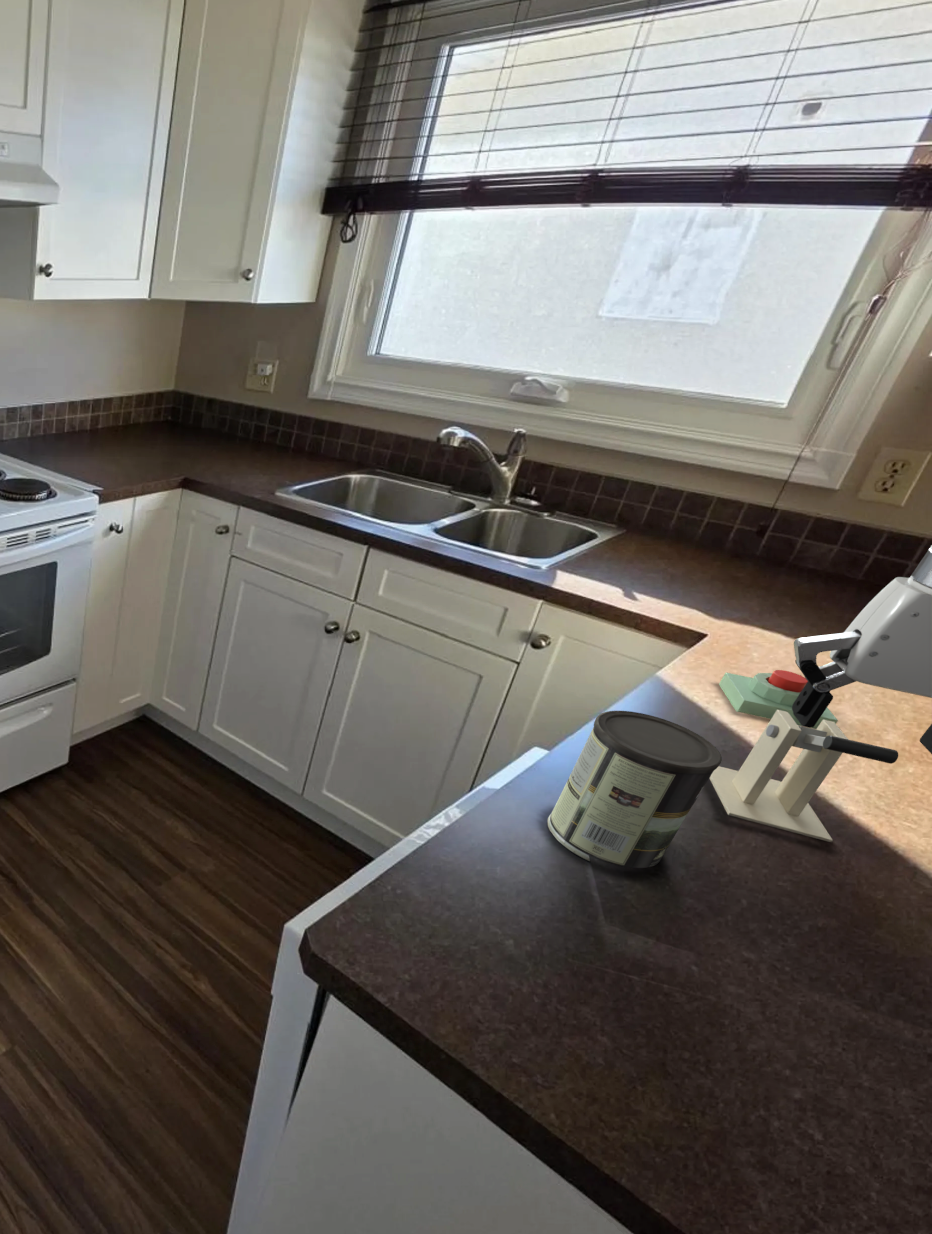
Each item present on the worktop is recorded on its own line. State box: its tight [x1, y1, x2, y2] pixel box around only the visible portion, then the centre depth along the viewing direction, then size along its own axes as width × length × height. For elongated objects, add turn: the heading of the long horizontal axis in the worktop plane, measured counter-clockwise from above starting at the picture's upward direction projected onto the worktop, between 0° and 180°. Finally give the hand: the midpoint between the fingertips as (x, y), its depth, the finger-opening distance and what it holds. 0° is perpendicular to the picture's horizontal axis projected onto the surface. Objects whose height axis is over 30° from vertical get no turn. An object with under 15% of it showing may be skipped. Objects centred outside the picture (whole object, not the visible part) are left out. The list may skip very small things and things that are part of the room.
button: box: [768, 669, 808, 692], centre depth 110 cm, size 4×4×2 cm
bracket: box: [709, 710, 850, 843], centre depth 89 cm, size 11×9×12 cm
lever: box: [792, 725, 899, 765], centre depth 83 cm, size 12×5×2 cm, turn 153°
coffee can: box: [547, 710, 723, 869], centre depth 83 cm, size 10×10×14 cm
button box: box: [718, 672, 839, 729], centre depth 111 cm, size 10×9×4 cm
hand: (864, 735), depth 78 cm, fingers open, 9 cm apart
